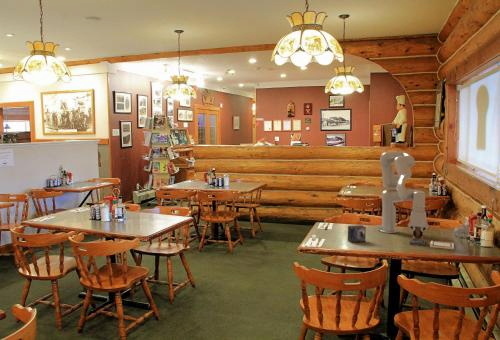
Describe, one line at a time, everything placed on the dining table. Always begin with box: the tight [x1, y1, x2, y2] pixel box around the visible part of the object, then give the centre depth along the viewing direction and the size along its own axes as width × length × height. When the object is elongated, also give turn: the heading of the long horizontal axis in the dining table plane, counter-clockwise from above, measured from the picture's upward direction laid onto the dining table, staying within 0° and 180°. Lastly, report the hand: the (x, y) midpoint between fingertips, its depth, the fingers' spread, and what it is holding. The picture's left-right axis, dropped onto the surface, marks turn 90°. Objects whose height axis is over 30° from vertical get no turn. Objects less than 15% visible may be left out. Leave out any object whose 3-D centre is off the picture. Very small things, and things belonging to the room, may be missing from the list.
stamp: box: [412, 227, 424, 242], centre depth 283 cm, size 6×6×12 cm
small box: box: [347, 224, 367, 244], centre depth 287 cm, size 11×6×10 cm, turn 101°
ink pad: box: [409, 237, 426, 247], centre depth 283 cm, size 9×12×2 cm
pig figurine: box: [454, 221, 470, 239], centre depth 299 cm, size 5×13×11 cm, turn 97°
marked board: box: [429, 240, 455, 250], centre depth 277 cm, size 14×14×1 cm
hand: (417, 236), depth 283 cm, fingers closed on stamp, 3 cm apart
